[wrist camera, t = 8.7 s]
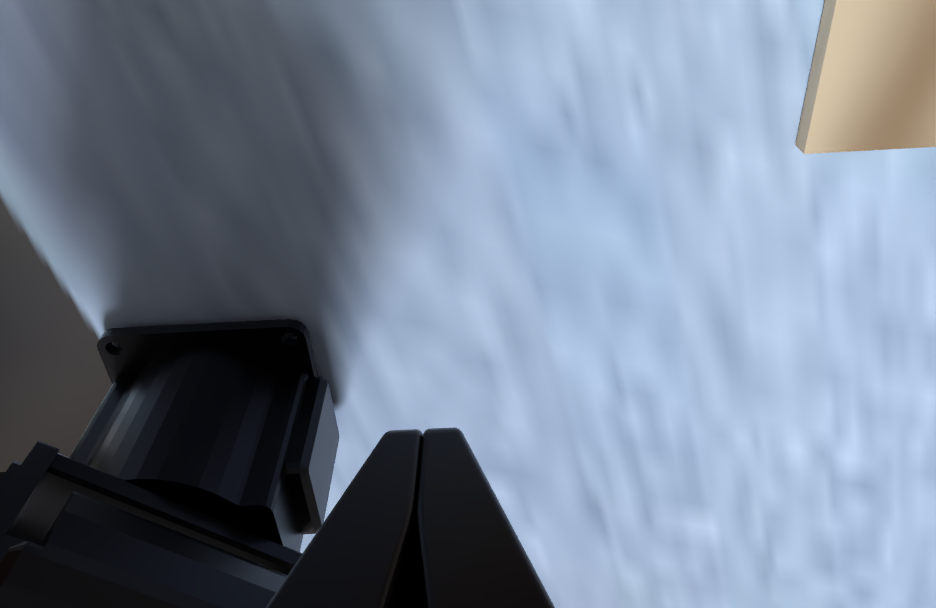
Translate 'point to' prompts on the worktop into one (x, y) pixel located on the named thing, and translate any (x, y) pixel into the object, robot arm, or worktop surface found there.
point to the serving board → (872, 78)
